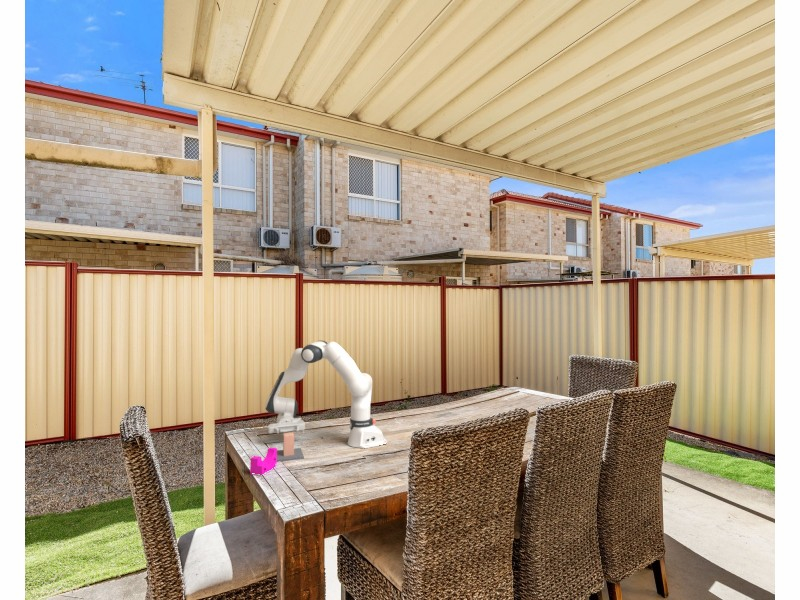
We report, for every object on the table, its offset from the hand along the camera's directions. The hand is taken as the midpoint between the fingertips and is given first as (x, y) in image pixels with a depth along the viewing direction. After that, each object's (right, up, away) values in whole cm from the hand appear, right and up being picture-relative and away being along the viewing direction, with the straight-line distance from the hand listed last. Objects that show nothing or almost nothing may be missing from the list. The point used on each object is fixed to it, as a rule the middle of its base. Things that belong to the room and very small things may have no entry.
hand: (287, 431), depth 215 cm
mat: (+4, -9, -12) cm, 15 cm away
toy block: (-2, -9, -29) cm, 30 cm away
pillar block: (+4, -8, -12) cm, 15 cm away
